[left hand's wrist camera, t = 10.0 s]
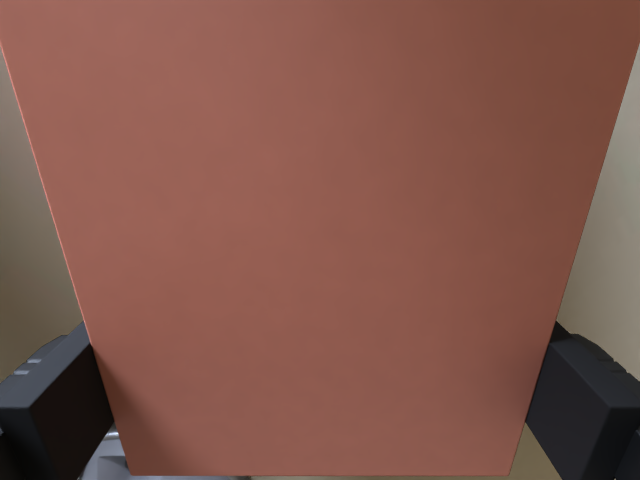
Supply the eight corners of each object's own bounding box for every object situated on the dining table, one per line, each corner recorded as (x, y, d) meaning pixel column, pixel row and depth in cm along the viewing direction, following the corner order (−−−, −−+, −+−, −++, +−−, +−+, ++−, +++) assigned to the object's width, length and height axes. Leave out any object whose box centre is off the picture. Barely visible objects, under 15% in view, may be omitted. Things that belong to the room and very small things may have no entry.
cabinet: (178, -77, 14) (-176, -525, 4) (461, -78, 14) (815, -529, 4) (223, 293, 20) (130, 476, 10) (416, 293, 20) (509, 477, 10)
